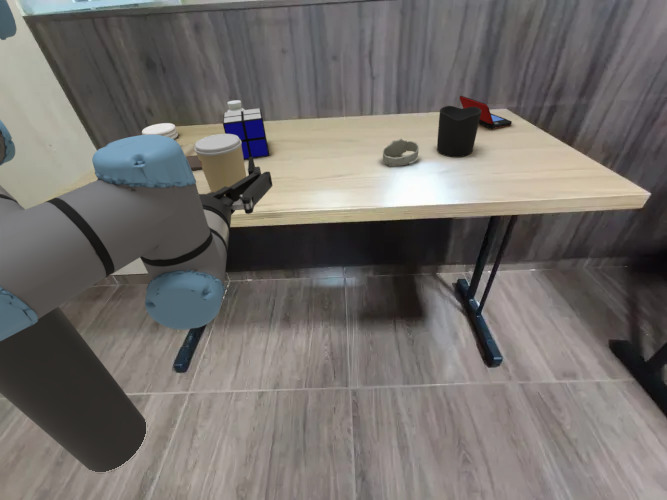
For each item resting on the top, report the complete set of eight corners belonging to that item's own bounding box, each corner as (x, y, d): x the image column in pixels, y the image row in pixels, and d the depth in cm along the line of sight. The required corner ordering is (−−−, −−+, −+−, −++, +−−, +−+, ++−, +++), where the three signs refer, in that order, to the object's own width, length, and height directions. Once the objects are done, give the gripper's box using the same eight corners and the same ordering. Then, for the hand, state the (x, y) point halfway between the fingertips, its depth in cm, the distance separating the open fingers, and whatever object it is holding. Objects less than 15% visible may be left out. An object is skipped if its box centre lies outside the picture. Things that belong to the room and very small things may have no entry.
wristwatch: (411, 153, 90) (413, 134, 87) (423, 163, 85) (425, 142, 82) (378, 159, 88) (378, 140, 85) (388, 169, 83) (388, 149, 80)
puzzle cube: (231, 161, 93) (222, 123, 87) (231, 148, 101) (223, 112, 95) (269, 155, 94) (262, 118, 88) (266, 143, 102) (260, 107, 96)
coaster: (147, 136, 114) (142, 125, 112) (179, 131, 116) (175, 120, 114) (143, 146, 107) (139, 135, 104) (178, 141, 109) (174, 129, 106)
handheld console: (513, 125, 101) (519, 98, 97) (481, 132, 99) (486, 104, 94) (484, 114, 111) (489, 89, 106) (454, 120, 108) (458, 94, 104)
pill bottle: (249, 136, 108) (242, 103, 102) (231, 138, 108) (223, 105, 102) (250, 130, 112) (243, 98, 107) (233, 132, 112) (225, 100, 106)
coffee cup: (223, 182, 83) (209, 132, 76) (259, 185, 81) (248, 133, 73) (201, 202, 76) (183, 148, 69) (239, 206, 74) (225, 150, 66)
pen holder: (455, 141, 95) (461, 102, 89) (482, 152, 88) (490, 111, 82) (427, 149, 91) (431, 109, 85) (453, 161, 85) (459, 119, 79)
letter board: (121, 179, 88) (116, 169, 86) (140, 153, 102) (136, 143, 101) (210, 168, 90) (207, 157, 89) (216, 143, 105) (214, 134, 103)
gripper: (118, 266, 49) (153, 196, 66) (294, 238, 52) (285, 178, 68) (92, 221, 45) (137, 158, 61) (287, 193, 47) (279, 140, 64)
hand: (215, 168), depth 65 cm, fingers open, 13 cm apart
